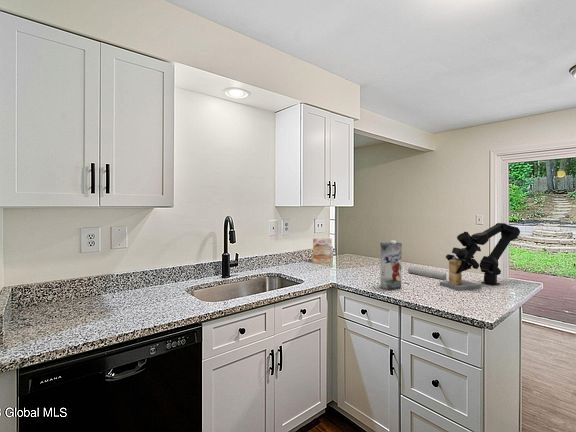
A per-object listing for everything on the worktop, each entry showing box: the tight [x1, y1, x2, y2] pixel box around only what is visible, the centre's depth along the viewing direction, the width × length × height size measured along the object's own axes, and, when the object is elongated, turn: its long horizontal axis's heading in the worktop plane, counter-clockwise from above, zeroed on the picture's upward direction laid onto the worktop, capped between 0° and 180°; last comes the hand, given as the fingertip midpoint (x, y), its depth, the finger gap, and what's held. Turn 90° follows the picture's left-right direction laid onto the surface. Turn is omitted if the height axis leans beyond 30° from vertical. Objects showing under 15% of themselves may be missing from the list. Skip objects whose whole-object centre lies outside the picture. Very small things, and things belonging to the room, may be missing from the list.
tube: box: [407, 265, 448, 281], centre depth 201 cm, size 5×5×25 cm
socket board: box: [439, 279, 482, 292], centre depth 175 cm, size 16×13×2 cm
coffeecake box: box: [312, 237, 333, 264], centre depth 254 cm, size 15×7×20 cm, turn 81°
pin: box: [448, 259, 463, 286], centre depth 173 cm, size 4×4×14 cm
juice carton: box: [379, 240, 403, 291], centre depth 173 cm, size 9×10×27 cm
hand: (453, 272), depth 173 cm, fingers closed on pin, 4 cm apart
